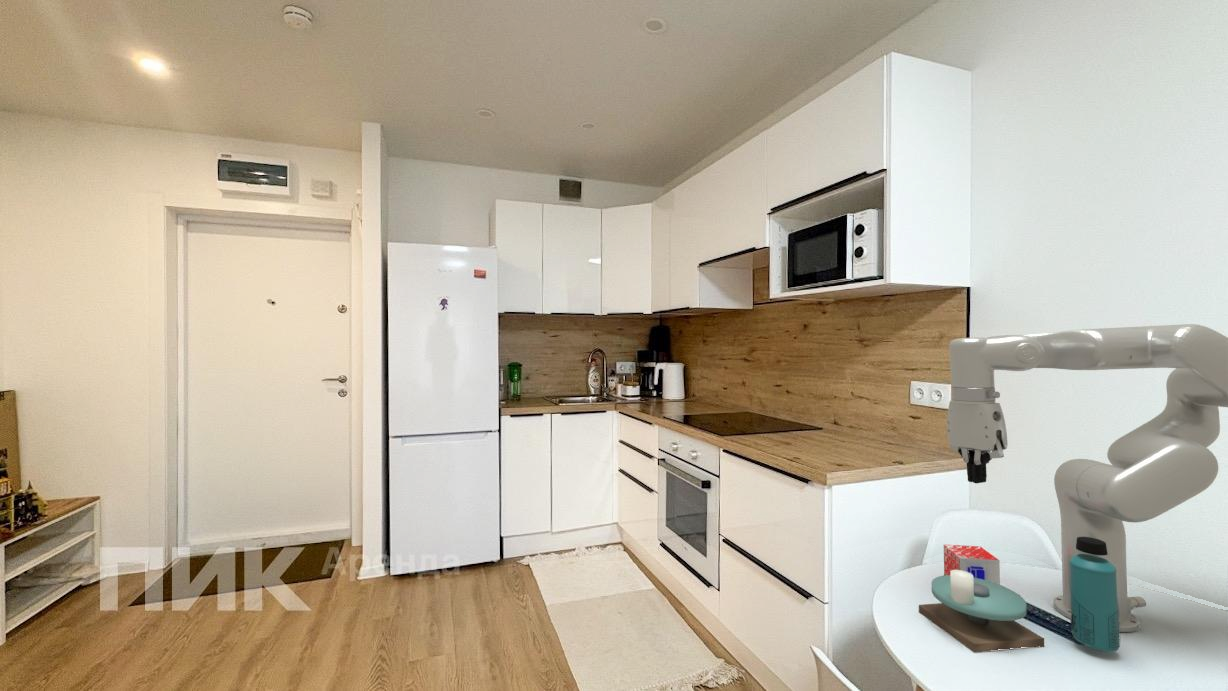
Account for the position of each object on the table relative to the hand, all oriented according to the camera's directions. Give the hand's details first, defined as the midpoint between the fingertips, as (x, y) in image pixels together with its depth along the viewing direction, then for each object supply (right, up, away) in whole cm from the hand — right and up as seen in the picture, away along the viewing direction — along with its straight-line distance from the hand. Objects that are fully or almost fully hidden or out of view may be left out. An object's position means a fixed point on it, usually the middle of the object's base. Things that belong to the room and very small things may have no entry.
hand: (977, 481), depth 105 cm
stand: (-6, -27, -8) cm, 28 cm away
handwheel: (-6, -21, -8) cm, 23 cm away
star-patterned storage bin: (+5, -27, +9) cm, 29 cm away
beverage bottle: (+10, -27, -15) cm, 32 cm away
